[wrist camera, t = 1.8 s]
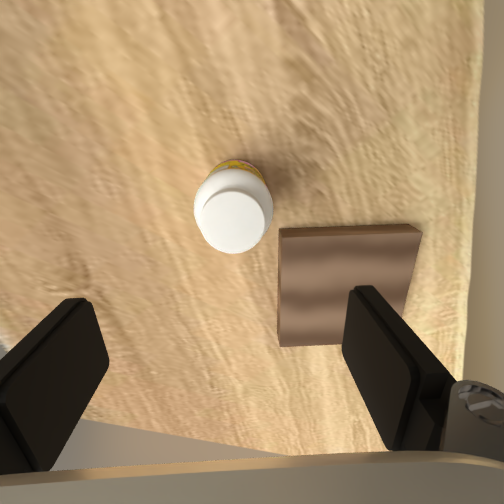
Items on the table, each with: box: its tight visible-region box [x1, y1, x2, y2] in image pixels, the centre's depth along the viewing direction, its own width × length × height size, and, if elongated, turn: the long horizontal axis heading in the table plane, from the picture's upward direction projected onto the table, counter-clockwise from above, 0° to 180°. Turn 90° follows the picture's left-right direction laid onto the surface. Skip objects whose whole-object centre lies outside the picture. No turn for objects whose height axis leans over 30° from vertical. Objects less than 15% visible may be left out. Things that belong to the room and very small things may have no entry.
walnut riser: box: [277, 224, 423, 347], centre depth 35 cm, size 16×16×3 cm
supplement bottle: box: [194, 160, 273, 254], centre depth 25 cm, size 7×7×13 cm
